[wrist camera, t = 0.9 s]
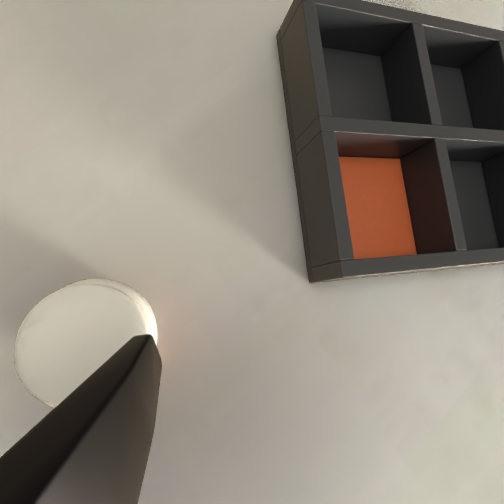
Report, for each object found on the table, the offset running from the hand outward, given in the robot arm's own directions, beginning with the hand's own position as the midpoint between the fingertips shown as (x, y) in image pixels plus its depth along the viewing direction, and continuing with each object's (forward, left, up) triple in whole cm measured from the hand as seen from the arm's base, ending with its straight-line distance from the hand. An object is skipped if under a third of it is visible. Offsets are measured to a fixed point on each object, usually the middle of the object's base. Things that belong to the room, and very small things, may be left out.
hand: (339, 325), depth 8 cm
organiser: (+19, -4, -14) cm, 24 cm away
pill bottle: (-4, +4, -14) cm, 15 cm away
